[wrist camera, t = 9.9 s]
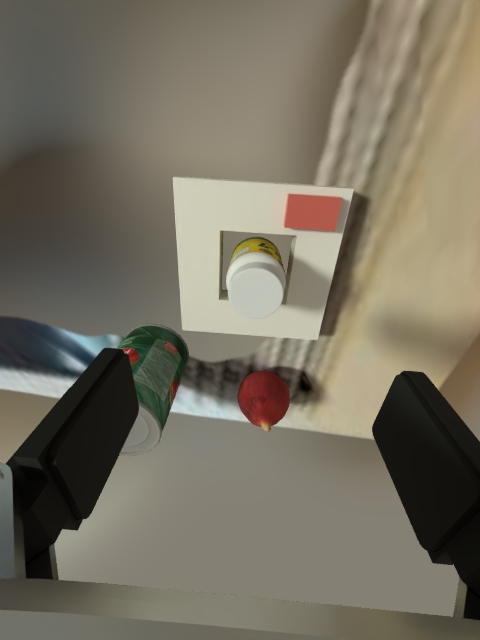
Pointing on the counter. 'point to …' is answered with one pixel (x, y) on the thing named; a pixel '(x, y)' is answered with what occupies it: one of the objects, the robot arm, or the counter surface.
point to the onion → (263, 398)
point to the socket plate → (257, 217)
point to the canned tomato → (153, 381)
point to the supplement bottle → (256, 278)
